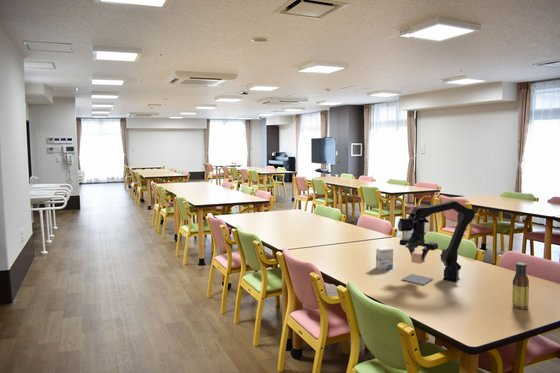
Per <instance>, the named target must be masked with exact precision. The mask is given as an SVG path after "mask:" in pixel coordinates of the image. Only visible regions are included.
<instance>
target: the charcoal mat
mask: <svg viewBox="0 0 560 373" xmlns="http://www.w3.org/2000/svg"><path fill="white" fill-rule="evenodd" d="M402 280H404V281H403V282H406V281H408V282H407V283H411V282H412V284H415V283H416V285H419V286H425V285H427V284H429V283H430V282H432V281H433V280H434V278H432V277H428V276H423V275H418V274H414V273H411V274H409V275H406V276H405V277H403V278H401V281H402Z"/></svg>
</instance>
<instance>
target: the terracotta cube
mask: <svg viewBox="0 0 560 373" xmlns="http://www.w3.org/2000/svg"><path fill="white" fill-rule="evenodd" d="M422 253H423V251H418V250H415V251H414V252H412V255H411V254H410V256H411V263H413V264H419V265H421V264H423V263H425V260H426V258H425V259H424V261H422Z"/></svg>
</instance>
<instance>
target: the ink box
mask: <svg viewBox="0 0 560 373" xmlns="http://www.w3.org/2000/svg"><path fill="white" fill-rule="evenodd" d="M375 250H376V251H375V252H376V253H375V254H376V255H375V257H376V258H375V268H376V269H377V270H379V271H385V270H391V269H393V268H394V267H393V266H394V248H391V247H388V246H385V247H377V248H376V249H375Z"/></svg>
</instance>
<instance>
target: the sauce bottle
mask: <svg viewBox="0 0 560 373" xmlns="http://www.w3.org/2000/svg"><path fill="white" fill-rule="evenodd" d="M527 267H528V265H527V263H525V262H520V261H519V262H515V275H514V277H513V279H512V291H511V292H512V298H511V299H512V300H511V303H512V306H513V308H515V309H518V310H528V309H529V305H530V304H529V302H530V282H529V281H530V280H529V277H528V275H527Z"/></svg>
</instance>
